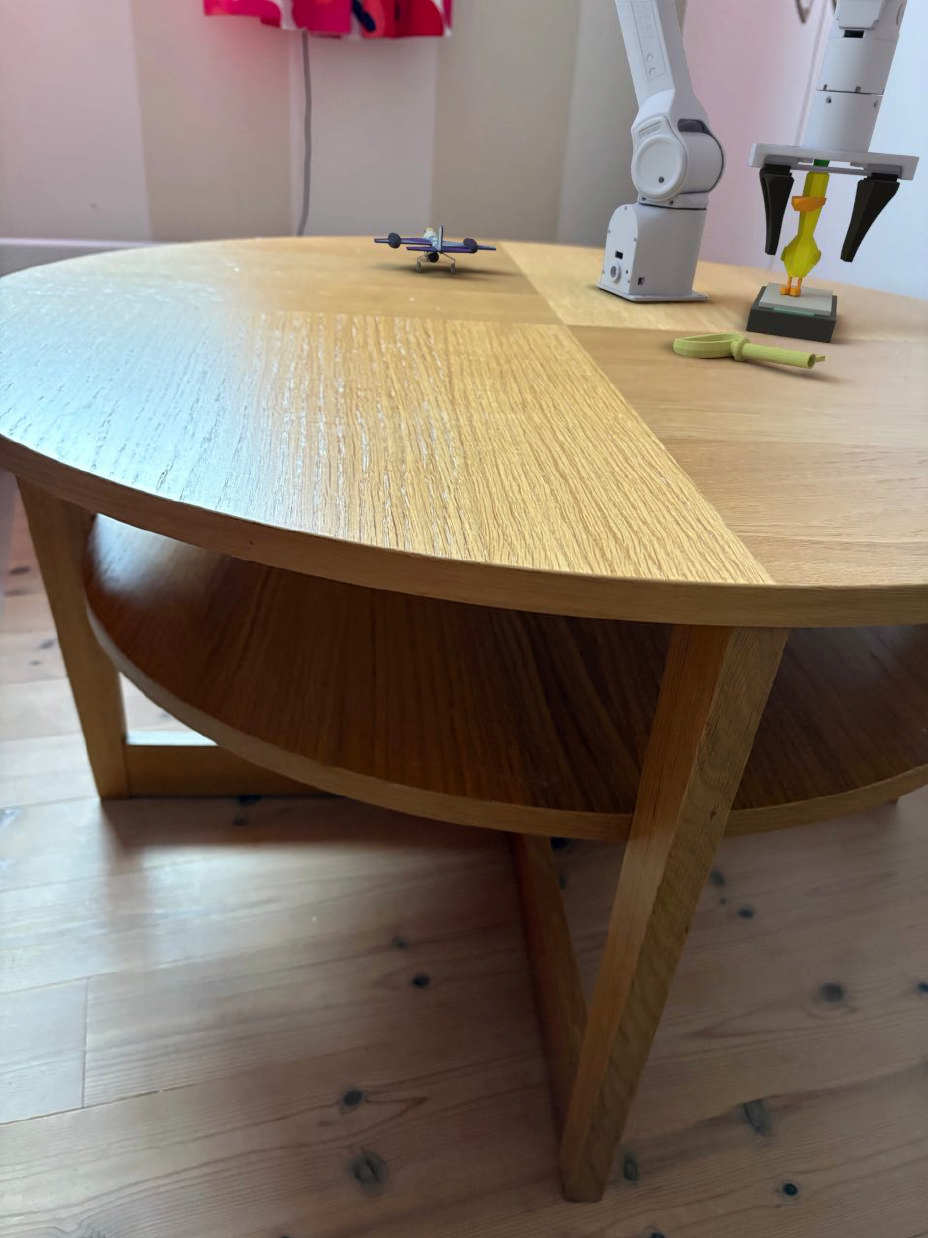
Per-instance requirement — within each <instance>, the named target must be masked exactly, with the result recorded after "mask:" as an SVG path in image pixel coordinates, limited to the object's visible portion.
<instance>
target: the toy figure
mask: <svg viewBox="0 0 928 1238" xmlns="http://www.w3.org/2000/svg"><path fill="white" fill-rule="evenodd" d="M830 163H831V161H828V160H818V159H813V163H812V165H815V166H827V167H829V165H830ZM805 175H806V176H805V180H804V185H803V190H802V194H801V195H791V202H790V204H791V206H792V209H793V210H794V211H795V212H799V216H798V226H797V227H798V228H797V234H796V235H795V236H794V237H793V238H792V240H790V242H789V243H788V244H787V245H785V246H784V247H783V248H782V249H783V250H782V251H781V255H780V258H779V259H780V260H781V262H783V265H784V269H785V271H786V274H787V277H788V279H787V283H786V285H787V286H781V290H780V294H790V295H793V296H798V295H800V294H801V288H800V287H802V282H803V279H804V278H806V277H807V275H809V273H810V272H811V271H812V270H813V269H814V267H815V266H817V265H818V263H819V262H820V261H821V257H822V251H821V250H820V249H819V247H818V244H817V242H816V239H815V237H814V234H815V230H816V229H817V228H816V227H817V225H818V222H819V219H820V216H821V212H822V210H823V207H824V206H825V205H826V202H827V199H828V197H826V195H827V190H828V185H829V181H830V176H831V174H830V173H823V172H812V171H807V173H806V174H805ZM793 278H797V283H796V286H797V287H796V288H795V287H791V285H792V283H793Z"/></svg>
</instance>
